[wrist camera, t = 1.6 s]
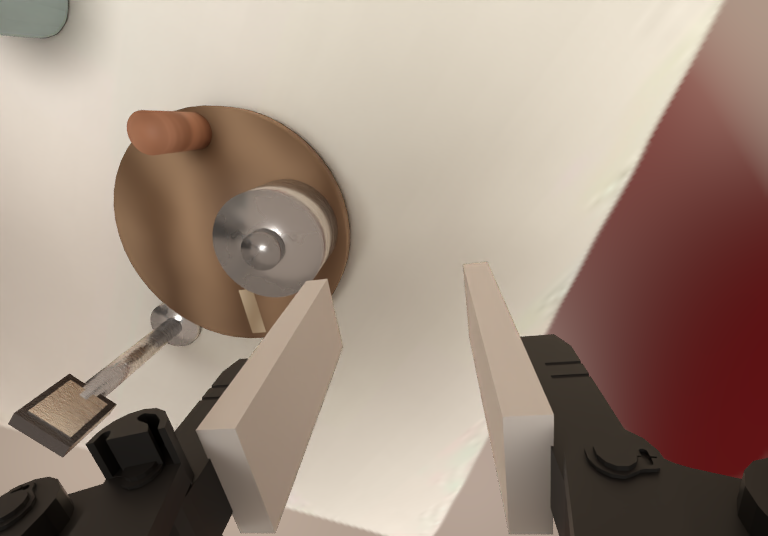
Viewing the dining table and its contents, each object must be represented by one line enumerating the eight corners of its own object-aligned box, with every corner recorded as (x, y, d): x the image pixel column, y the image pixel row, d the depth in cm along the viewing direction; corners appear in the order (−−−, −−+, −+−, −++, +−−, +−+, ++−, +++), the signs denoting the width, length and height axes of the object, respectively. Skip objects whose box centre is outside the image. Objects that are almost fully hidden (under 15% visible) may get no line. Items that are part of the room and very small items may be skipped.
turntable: (176, 335, 34) (125, 380, 28) (91, 129, 28) (2, 131, 22) (368, 318, 31) (354, 364, 25) (322, 84, 25) (290, 74, 19)
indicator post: (186, 350, 35) (59, 473, 23) (147, 322, 35) (-7, 434, 22) (209, 322, 34) (86, 437, 22) (168, 292, 33) (16, 393, 21)
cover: (259, 275, 29) (224, 309, 24) (232, 186, 26) (187, 202, 21) (346, 266, 28) (328, 298, 23) (326, 172, 25) (301, 185, 20)
